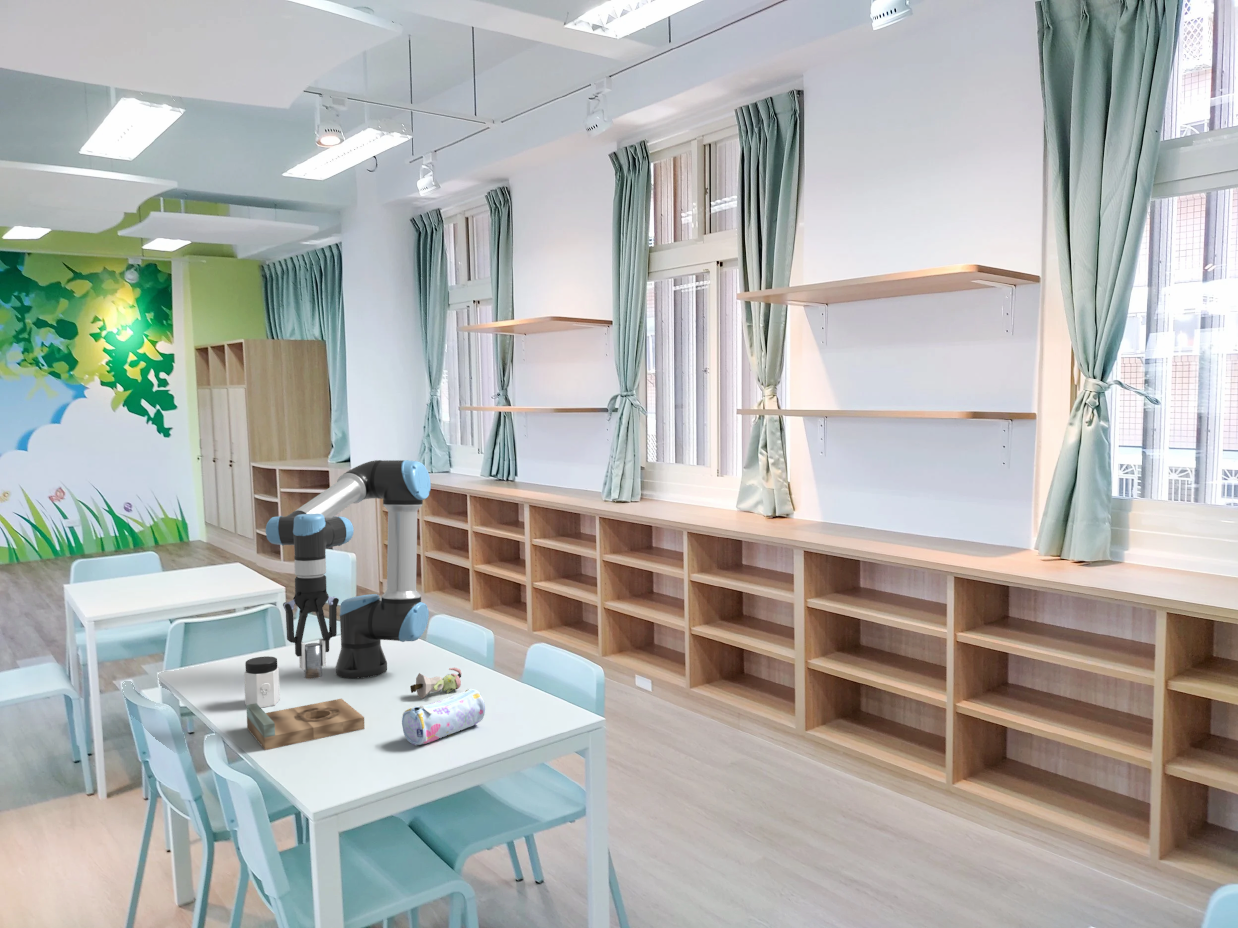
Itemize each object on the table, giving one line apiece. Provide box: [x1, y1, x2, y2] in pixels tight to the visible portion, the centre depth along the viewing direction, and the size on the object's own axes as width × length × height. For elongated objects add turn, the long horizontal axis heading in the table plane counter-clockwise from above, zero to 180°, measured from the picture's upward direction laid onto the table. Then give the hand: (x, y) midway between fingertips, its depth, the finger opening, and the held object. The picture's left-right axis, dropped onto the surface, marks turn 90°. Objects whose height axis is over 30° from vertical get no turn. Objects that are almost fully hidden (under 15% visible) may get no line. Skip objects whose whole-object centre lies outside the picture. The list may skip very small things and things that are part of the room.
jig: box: [246, 698, 365, 751], centre depth 230 cm, size 24×18×6 cm
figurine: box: [410, 667, 462, 700], centre depth 256 cm, size 9×7×15 cm
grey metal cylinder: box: [303, 642, 323, 680], centre depth 231 cm, size 4×4×8 cm
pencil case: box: [401, 688, 486, 746], centre depth 225 cm, size 21×9×10 cm, turn 138°
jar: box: [243, 655, 281, 709], centre depth 249 cm, size 9×8×12 cm
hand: (312, 666), depth 231 cm, fingers closed on grey metal cylinder, 4 cm apart
